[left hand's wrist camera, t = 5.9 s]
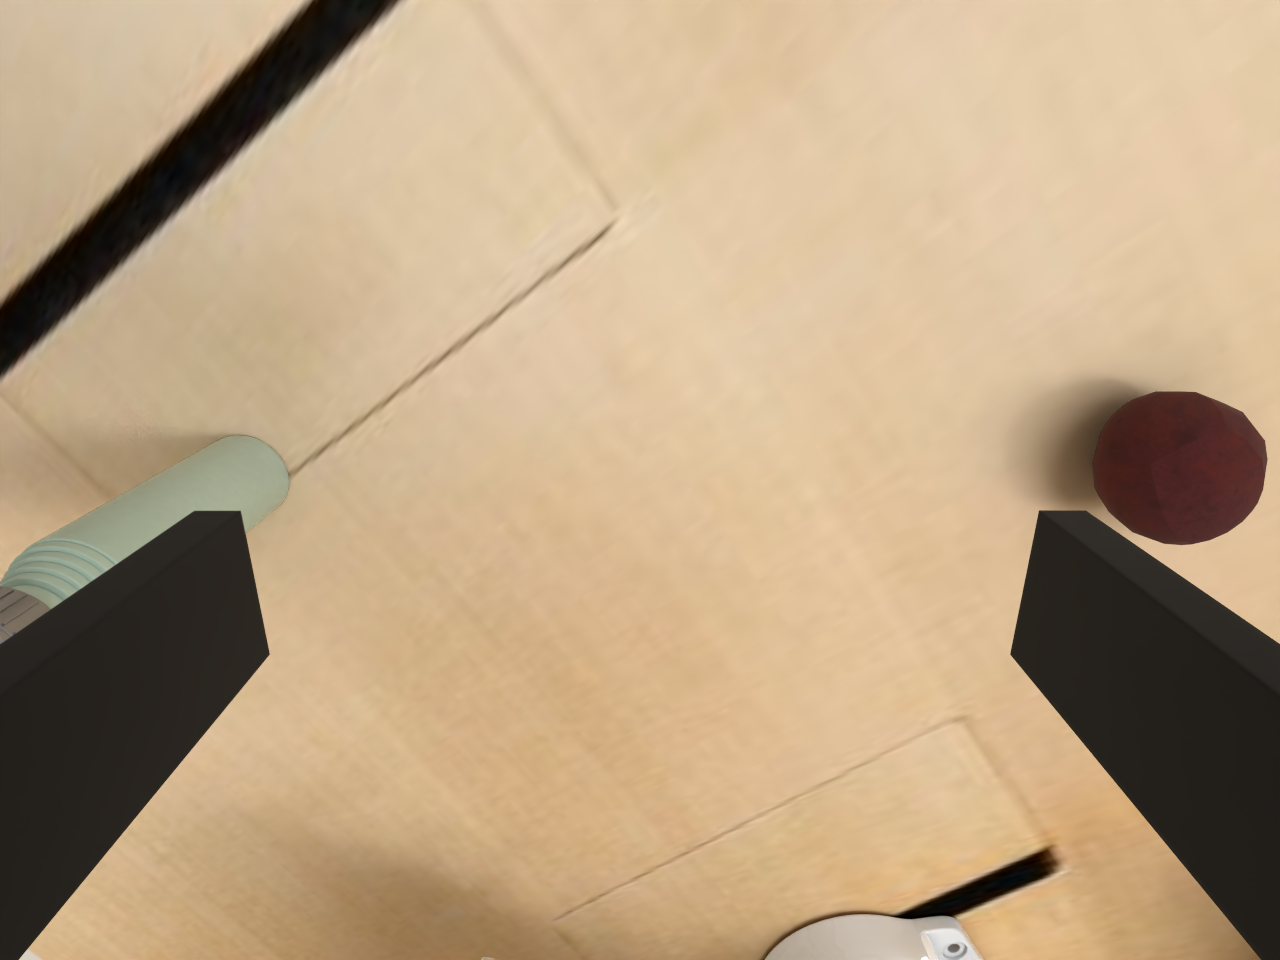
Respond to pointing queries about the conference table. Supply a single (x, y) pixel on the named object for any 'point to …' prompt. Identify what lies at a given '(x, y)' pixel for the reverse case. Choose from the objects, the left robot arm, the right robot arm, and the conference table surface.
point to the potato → (1179, 467)
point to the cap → (17, 611)
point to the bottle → (152, 515)
